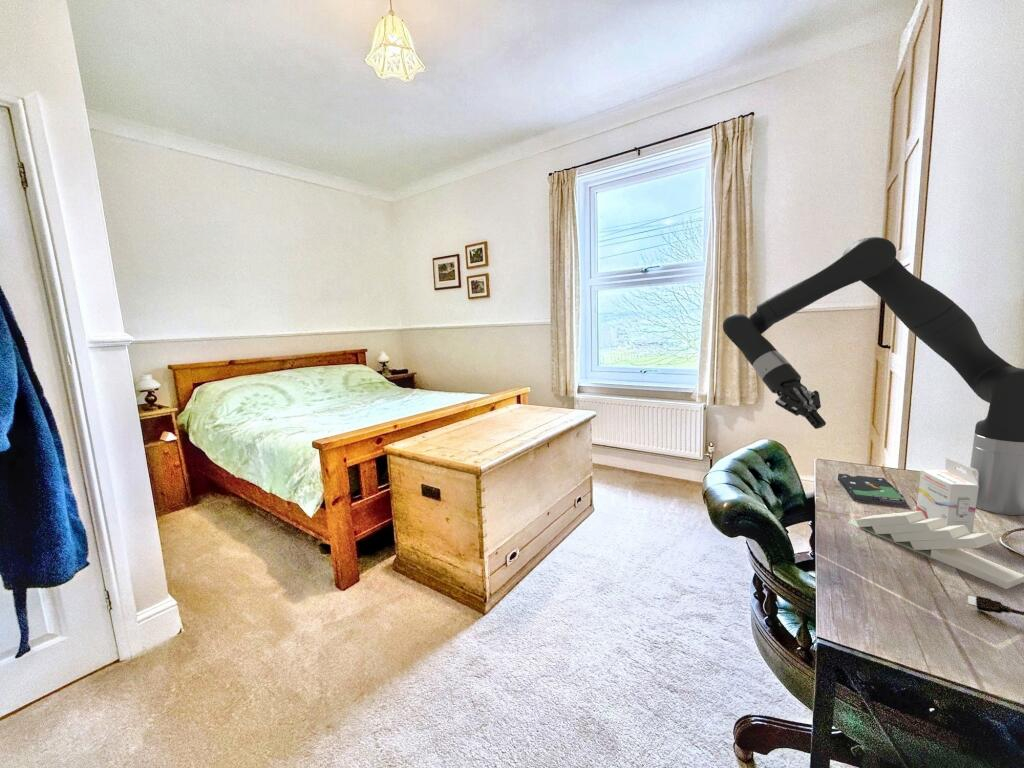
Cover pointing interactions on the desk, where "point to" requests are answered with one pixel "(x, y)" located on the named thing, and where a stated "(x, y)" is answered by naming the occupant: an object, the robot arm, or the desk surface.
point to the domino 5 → (978, 567)
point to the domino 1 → (891, 519)
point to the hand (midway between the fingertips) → (821, 426)
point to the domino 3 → (932, 534)
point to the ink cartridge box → (949, 494)
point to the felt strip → (889, 537)
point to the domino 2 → (911, 526)
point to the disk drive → (871, 490)
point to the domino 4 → (955, 542)
